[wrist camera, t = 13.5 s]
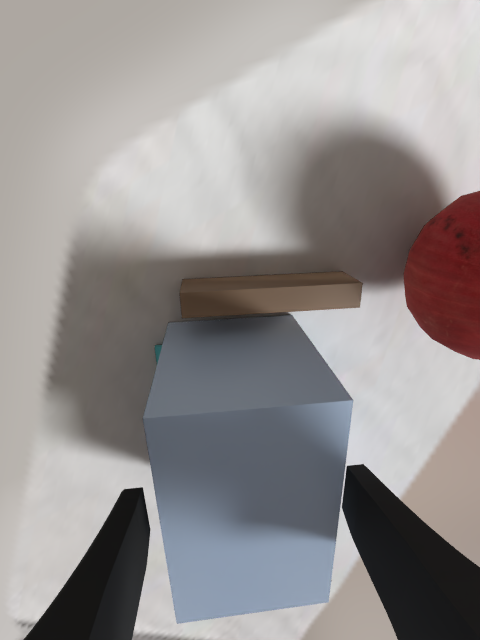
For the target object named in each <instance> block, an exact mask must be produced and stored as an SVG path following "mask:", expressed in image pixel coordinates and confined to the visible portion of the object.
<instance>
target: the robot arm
mask: <svg viewBox="0 0 480 640" xmlns="http://www.w3.org/2000/svg"><path fill="white" fill-rule="evenodd" d="M342 509H343V512H344V515H345V518H346V521H347V524H348V527H349V530H350V533H351V535H352V538H353V541H354V543H355V545H356V547H357V549H358V552H359V554H360V556H361V558H362V560H363V562H364V565H365V567H366V569H367V571H368V573H369V576H370V578H371V580H372V582H373V584H374V586H375V588H376V591H377V593H378V595H379V597H380V599H381V601H382V603H383V606H384V608H385V610H386V612H387V614H388V617H389V619H390V621H391V624H392V626H393V628H394V631H395V633H396V636H397V639H398V640H480V567H478V566H477V565H476V564H474V563H473V562H472V561H470V560H469V559H468V558H466V557H465V556H464V555H463V554H461V553H460V552H459V551H458V550H456V549H455V548H454V547H453V546H451V545H450V544H449V543H448V542H447V541H445V540H444V539H443V538H442V537H441V536H440V535H438V534H437V533H436V532H435V531H434V530H433V529H431V528H430V527H429V526H428V525H427V524H426V523H424V522H423V521H422V520H421V519H420V518H419V517H418V516H417V515H416V514H415V513H414V512H413V511H411V510H410V509H409V508H408V507H407V506H406V505H405V504H404V503H403V502H402V501H401V500H400V499H399V498H398V497H396V496H395V495H394V494H393V493H392V492H391V491H390V490H389V489H388V488H387V487H386V486H385V485H384V484H383V483H382V482H381V481H380V480H379V479H378V478H377V477H376V476H375V475H374V474H373V473H372V472H371V471H370V470H369V469H368V468H367V467H366V466H365V465H364V464H361V465H352V466H347V470H346V478H345V487H344V495H343V503H342ZM149 537H150V525H149V520H148V514H147V509H146V503H145V498H144V492H143V487H142V488H132V489H124V490H123V491H122V492H121V494H120V496H119V498H118V500H117V502H116V503H115V505H114V507H113V509H112V511H111V512H110V514H109V516H108V518H107V519H106V521H105V523H104V525H103V526H102V528H101V530H100V531H99V533H98V535H97V536H96V538H95V539H94V541H93V543H92V544H91V546H90V547H89V549H88V551H87V552H86V554H85V555H84V557H83V559H82V560H81V562H80V563H79V565H78V566H77V568H76V569H75V570H74V572H73V573H72V575H71V576H70V578H69V579H68V581H67V582H66V584H65V585H64V587H63V588H62V590H61V591H60V592H59V594H58V595H57V597H56V598H55V599H54V601H53V602H52V603H51V605H50V606H49V608H48V609H47V610H46V612H45V613H44V614H43V616H42V617H41V618H40V619H39V621H38V622H37V623H36V625H35V626H34V627H33V629H32V630H31V631H30V632H29V634H28V635H27V636H26V637H25V639H24V640H132V636H133V631H134V626H135V621H136V616H137V611H138V606H139V601H140V596H141V591H142V586H143V581H144V576H145V571H146V565H147V557H148V548H149Z"/></svg>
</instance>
